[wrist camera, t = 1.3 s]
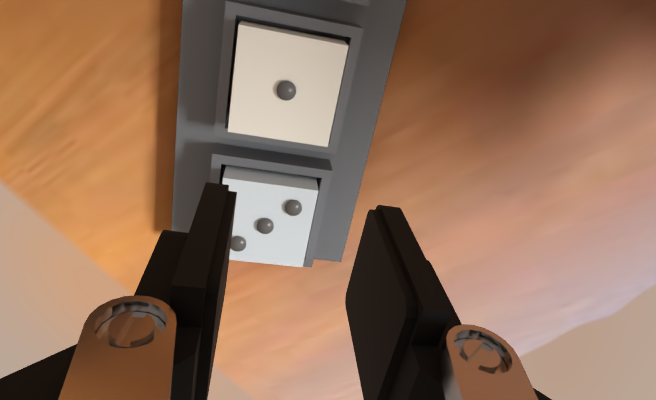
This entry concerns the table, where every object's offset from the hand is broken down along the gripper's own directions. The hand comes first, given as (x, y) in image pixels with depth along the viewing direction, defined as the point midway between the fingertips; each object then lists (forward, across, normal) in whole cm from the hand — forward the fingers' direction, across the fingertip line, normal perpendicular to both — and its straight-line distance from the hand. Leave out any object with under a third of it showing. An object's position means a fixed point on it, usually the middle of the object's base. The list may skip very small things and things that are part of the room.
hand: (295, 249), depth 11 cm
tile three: (+18, 0, +9) cm, 20 cm away
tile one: (+18, 0, 0) cm, 18 cm away
